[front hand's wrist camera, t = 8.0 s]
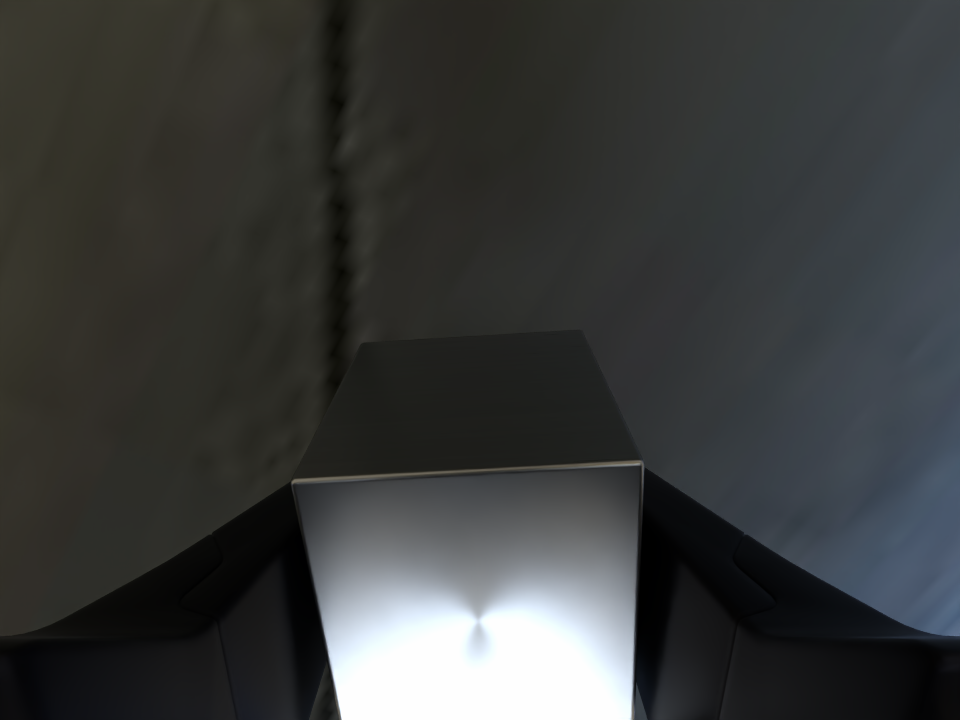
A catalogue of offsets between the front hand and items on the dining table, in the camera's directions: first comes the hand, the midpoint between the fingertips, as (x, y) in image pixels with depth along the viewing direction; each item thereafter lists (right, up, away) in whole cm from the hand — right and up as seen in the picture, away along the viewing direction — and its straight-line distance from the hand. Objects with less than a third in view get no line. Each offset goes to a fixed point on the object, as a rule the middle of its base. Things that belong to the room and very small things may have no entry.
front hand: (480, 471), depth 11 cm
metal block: (0, 0, +1) cm, 1 cm away
